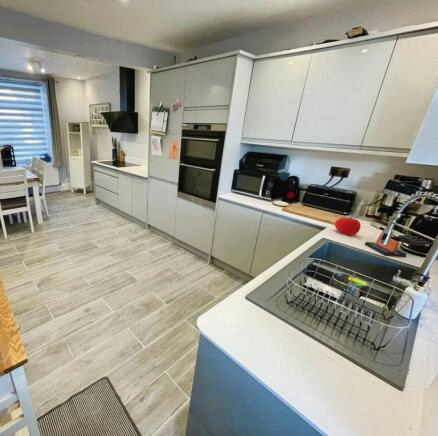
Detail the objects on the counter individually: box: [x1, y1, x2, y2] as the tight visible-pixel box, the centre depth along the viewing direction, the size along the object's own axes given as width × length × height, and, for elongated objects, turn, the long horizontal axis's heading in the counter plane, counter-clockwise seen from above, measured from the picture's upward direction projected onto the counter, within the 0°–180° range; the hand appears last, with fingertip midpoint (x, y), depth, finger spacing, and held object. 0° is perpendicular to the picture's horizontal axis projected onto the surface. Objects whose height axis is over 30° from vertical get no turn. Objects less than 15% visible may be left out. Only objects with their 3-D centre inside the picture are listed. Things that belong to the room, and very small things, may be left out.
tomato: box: [334, 216, 361, 236], centre depth 166 cm, size 12×14×11 cm
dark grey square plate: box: [364, 241, 408, 258], centre depth 144 cm, size 15×15×2 cm
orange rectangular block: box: [376, 233, 400, 252], centre depth 142 cm, size 11×2×6 cm, turn 178°
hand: (390, 238), depth 145 cm, fingers closed
